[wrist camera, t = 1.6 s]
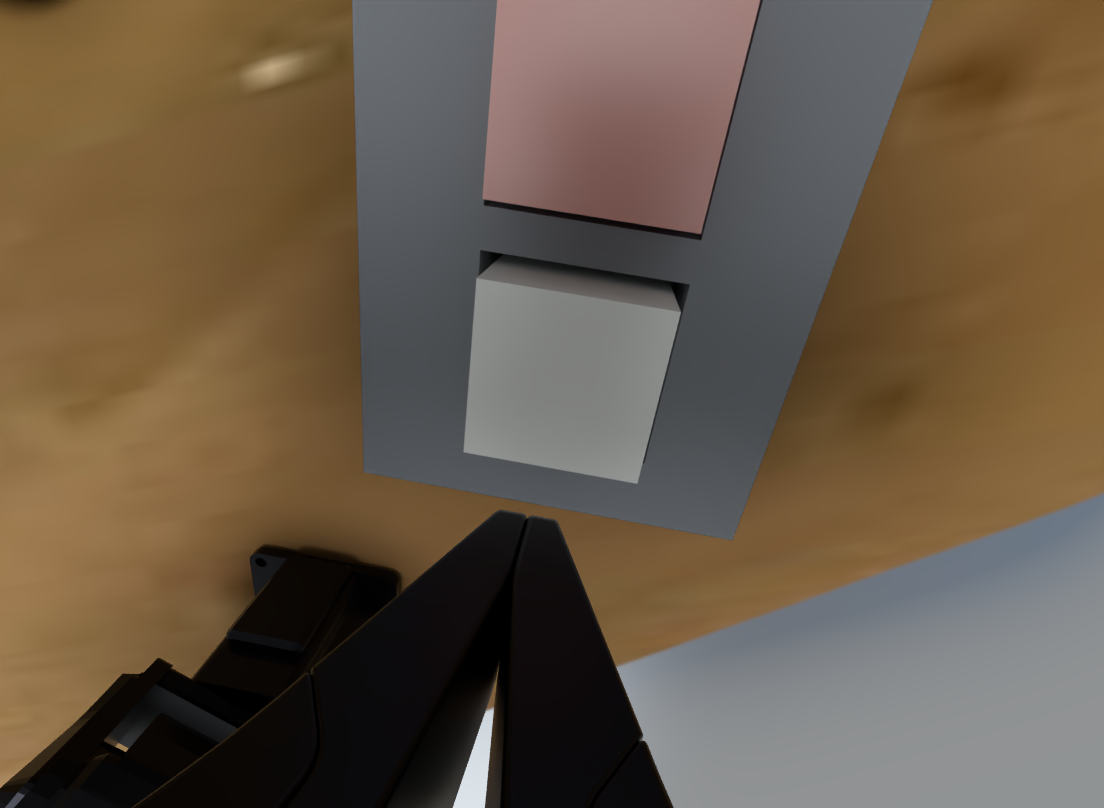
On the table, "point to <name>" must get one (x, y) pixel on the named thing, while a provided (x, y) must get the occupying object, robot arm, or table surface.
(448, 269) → the key panel
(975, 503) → the table surface
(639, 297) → the white key
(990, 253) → the table surface
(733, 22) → the red key
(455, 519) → the table surface
